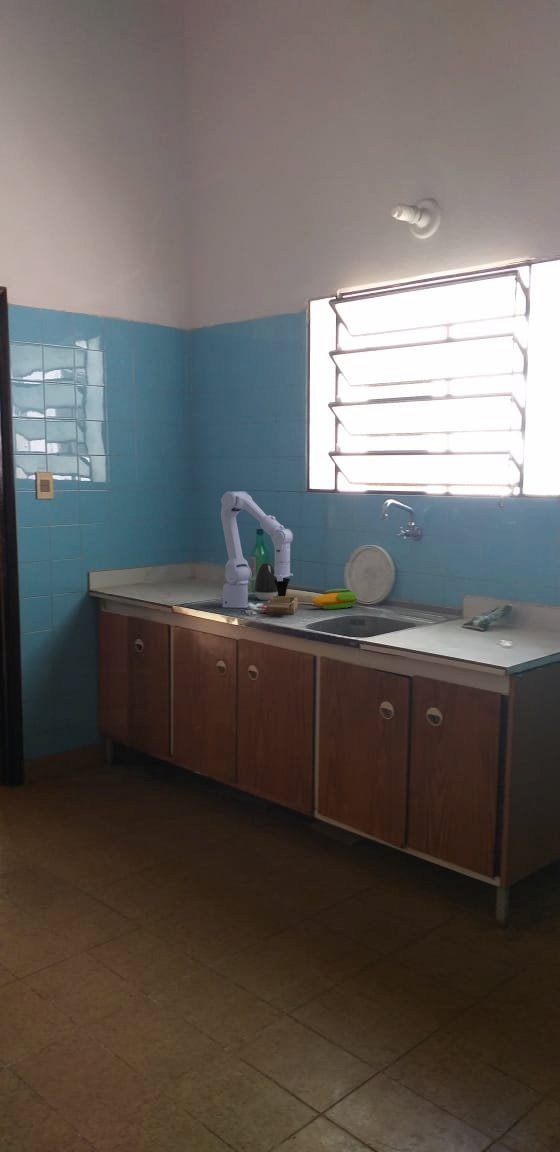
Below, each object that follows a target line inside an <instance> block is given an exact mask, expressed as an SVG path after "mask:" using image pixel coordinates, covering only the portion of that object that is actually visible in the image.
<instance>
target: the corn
mask: <svg viewBox="0 0 560 1152" xmlns="http://www.w3.org/2000/svg"><path fill="white" fill-rule="evenodd" d="M324 592H325V593H324V594H321V595H318V596H315V597H313V599H312V600H311V603H312V604H313V605H314V606H320V607H322V608H323V609H325V610H342V609H341V608H344V609H349V608H348V607H350V608H351V607H353V606H354V605H355V603H356V601H357V598H358V597H357V594H356V593H355V592H353V591H352V590H350V589H348V588H334V589H329V590H325V591H324Z"/></svg>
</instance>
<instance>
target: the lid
mask: <svg viewBox="0 0 560 1152" xmlns="http://www.w3.org/2000/svg"><path fill="white" fill-rule="evenodd" d="M290 597H291V596H288V595H287V596H278V595H277V596H273V602H271V603H270V605H269V606H268V607H267V609H288V608H289V607H290V606H291V602H290Z"/></svg>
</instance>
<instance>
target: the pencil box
mask: <svg viewBox="0 0 560 1152" xmlns="http://www.w3.org/2000/svg"><path fill="white" fill-rule="evenodd" d="M271 602H273V597H271V598H270V599H269V600H266V606H265V607H266V609H265V610H266V613H265V614H266V615H283V616H285V615H287V616H288V615H289V616H291V615H292V616H293V615H295V613H296V612H297V611H298V609H299V597H298V596H296V597H295V596H290V602H291V606H290V607H289V608H288V609H267V607H268V606H269V605H270V603H271Z"/></svg>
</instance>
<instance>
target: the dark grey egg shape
mask: <svg viewBox="0 0 560 1152" xmlns="http://www.w3.org/2000/svg"><path fill="white" fill-rule="evenodd" d="M274 573H275V566H273V564H272V563H270V562H267V561H266V562H263V563H261V564H260V566H259V567H258V569H257V572H256V574H255V580H254V584H253V592H254V595H255V597H256V598H257V599H258V600H260V601H268V600H269V599H270V598H271V597H273V596H278V591H277V587H276V584H275V582H274V579H277V577H275V576H274Z"/></svg>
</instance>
